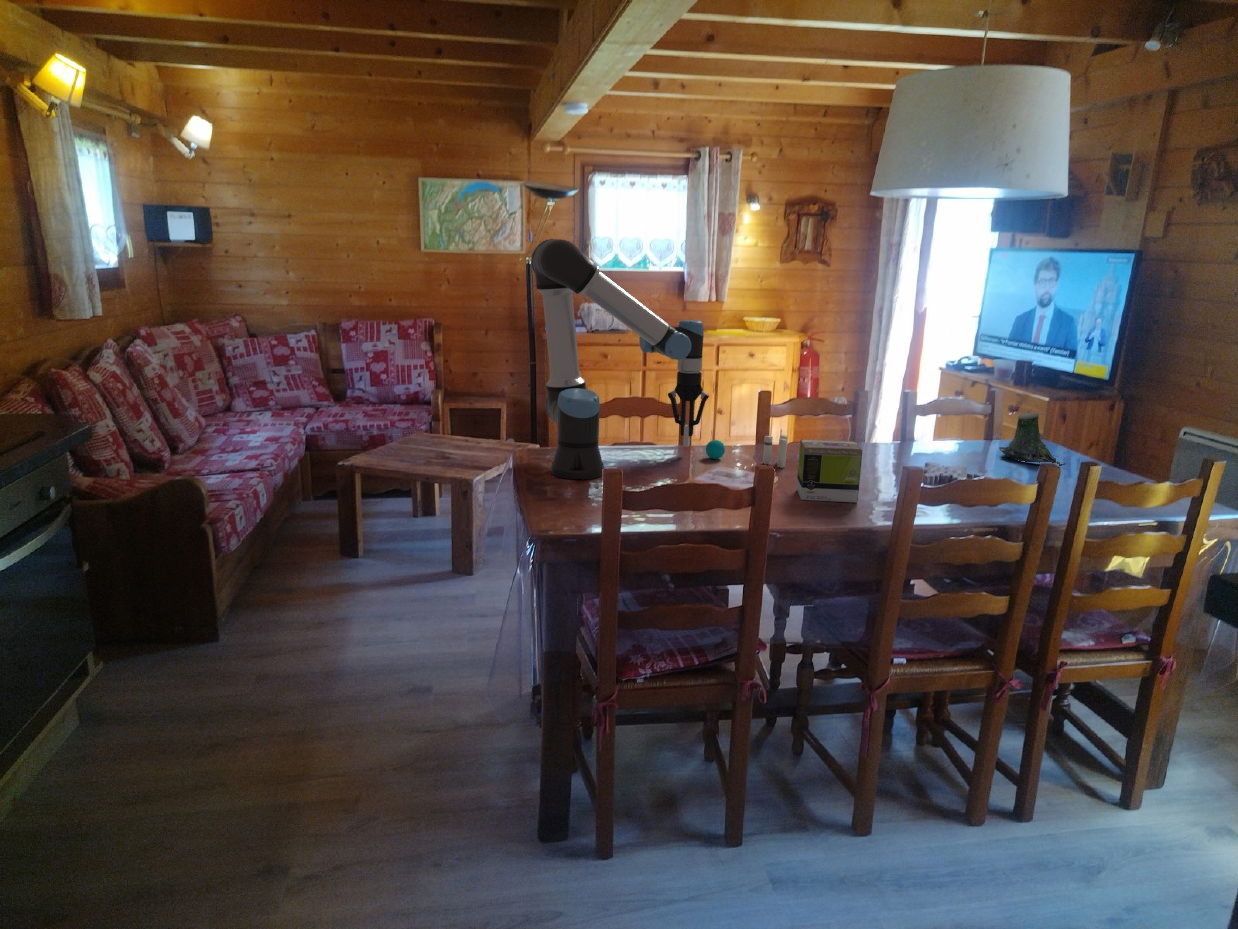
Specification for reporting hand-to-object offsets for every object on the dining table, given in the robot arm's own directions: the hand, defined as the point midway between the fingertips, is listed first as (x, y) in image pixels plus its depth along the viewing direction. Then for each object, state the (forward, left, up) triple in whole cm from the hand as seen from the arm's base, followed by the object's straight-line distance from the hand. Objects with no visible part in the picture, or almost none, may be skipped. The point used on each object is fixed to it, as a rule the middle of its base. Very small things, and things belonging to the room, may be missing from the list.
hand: (686, 445), depth 254 cm
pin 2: (+27, +13, -3) cm, 30 cm away
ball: (+8, +4, 0) cm, 9 cm away
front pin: (+22, +12, -3) cm, 25 cm away
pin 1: (+25, +17, -3) cm, 30 cm away
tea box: (+52, -5, -4) cm, 52 cm away
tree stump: (+76, +86, -4) cm, 115 cm away
